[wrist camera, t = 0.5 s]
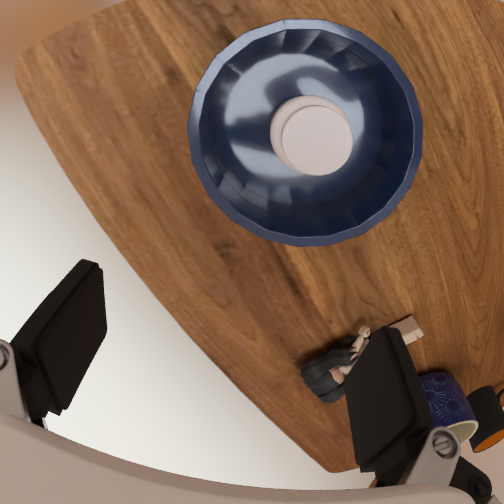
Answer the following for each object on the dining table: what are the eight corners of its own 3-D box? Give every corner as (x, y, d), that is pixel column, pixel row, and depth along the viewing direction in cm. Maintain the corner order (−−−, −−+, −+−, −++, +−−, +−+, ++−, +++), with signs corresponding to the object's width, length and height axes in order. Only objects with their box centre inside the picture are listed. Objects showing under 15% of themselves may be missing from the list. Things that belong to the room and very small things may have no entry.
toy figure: (394, 289, 32) (289, 361, 36) (418, 329, 26) (298, 403, 31) (415, 319, 35) (321, 380, 39) (436, 355, 29) (331, 419, 34)
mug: (508, 385, 42) (526, 422, 33) (460, 416, 46) (475, 456, 37) (506, 368, 39) (528, 410, 30) (454, 403, 43) (470, 447, 34)
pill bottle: (346, 121, 23) (382, 135, 15) (309, 169, 25) (327, 205, 18) (293, 82, 22) (307, 75, 14) (256, 133, 24) (251, 152, 16)
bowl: (230, 19, 20) (218, -4, 14) (409, 74, 21) (446, 72, 15) (192, 190, 27) (172, 218, 22) (357, 231, 28) (377, 266, 23)
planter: (467, 360, 37) (493, 414, 27) (433, 407, 43) (450, 456, 33) (403, 365, 37) (425, 429, 28) (373, 413, 43) (385, 470, 34)
